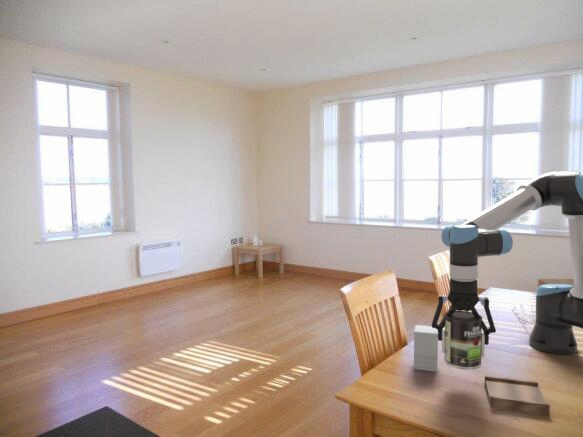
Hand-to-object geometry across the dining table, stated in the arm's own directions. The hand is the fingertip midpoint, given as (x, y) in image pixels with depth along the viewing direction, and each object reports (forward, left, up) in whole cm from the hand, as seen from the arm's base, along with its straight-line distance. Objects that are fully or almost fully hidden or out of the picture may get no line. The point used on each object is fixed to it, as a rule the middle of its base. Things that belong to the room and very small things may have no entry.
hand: (462, 352), depth 128 cm
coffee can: (0, 0, -3) cm, 3 cm away
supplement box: (+10, -12, -10) cm, 19 cm away
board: (-14, +3, -10) cm, 17 cm away
